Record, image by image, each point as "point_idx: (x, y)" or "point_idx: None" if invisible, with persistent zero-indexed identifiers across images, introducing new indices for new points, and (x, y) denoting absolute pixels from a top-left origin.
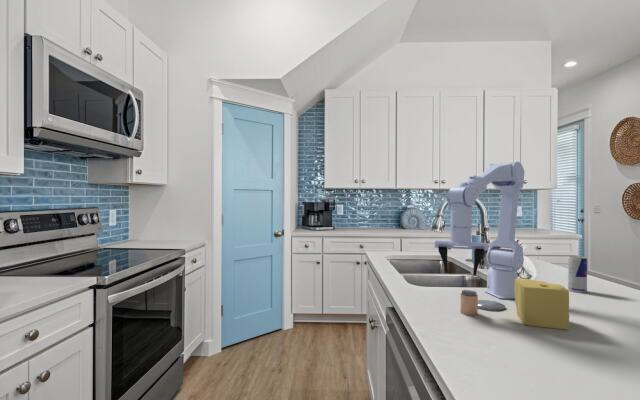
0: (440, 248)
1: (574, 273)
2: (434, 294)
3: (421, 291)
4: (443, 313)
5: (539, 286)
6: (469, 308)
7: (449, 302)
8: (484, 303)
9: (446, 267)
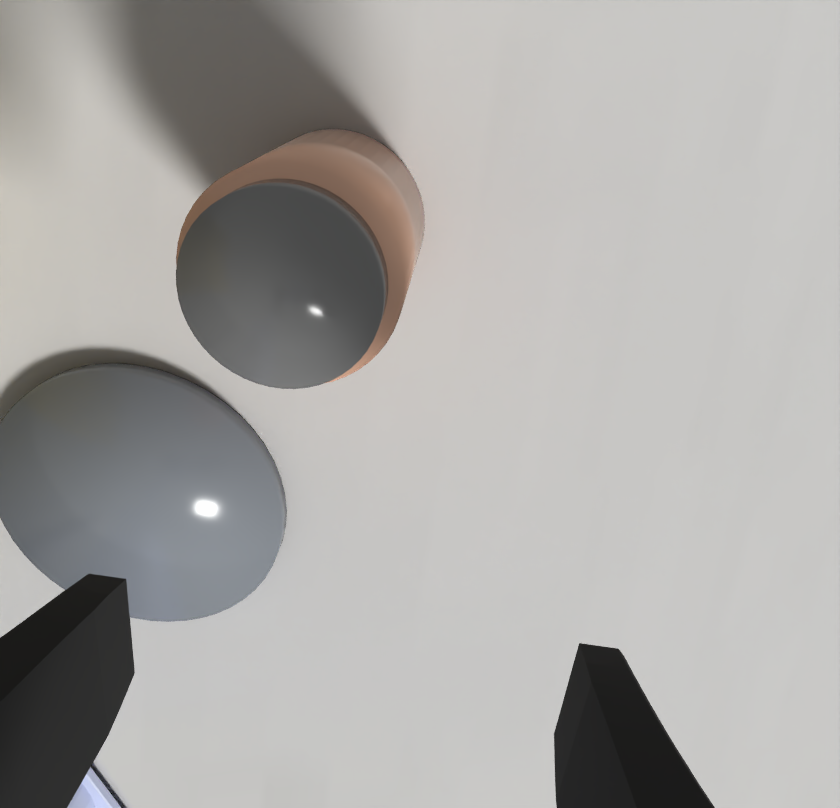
0: None
1: None
2: None
3: None
4: (626, 128)
5: None
6: (326, 141)
7: (489, 538)
8: (166, 522)
9: (627, 722)
